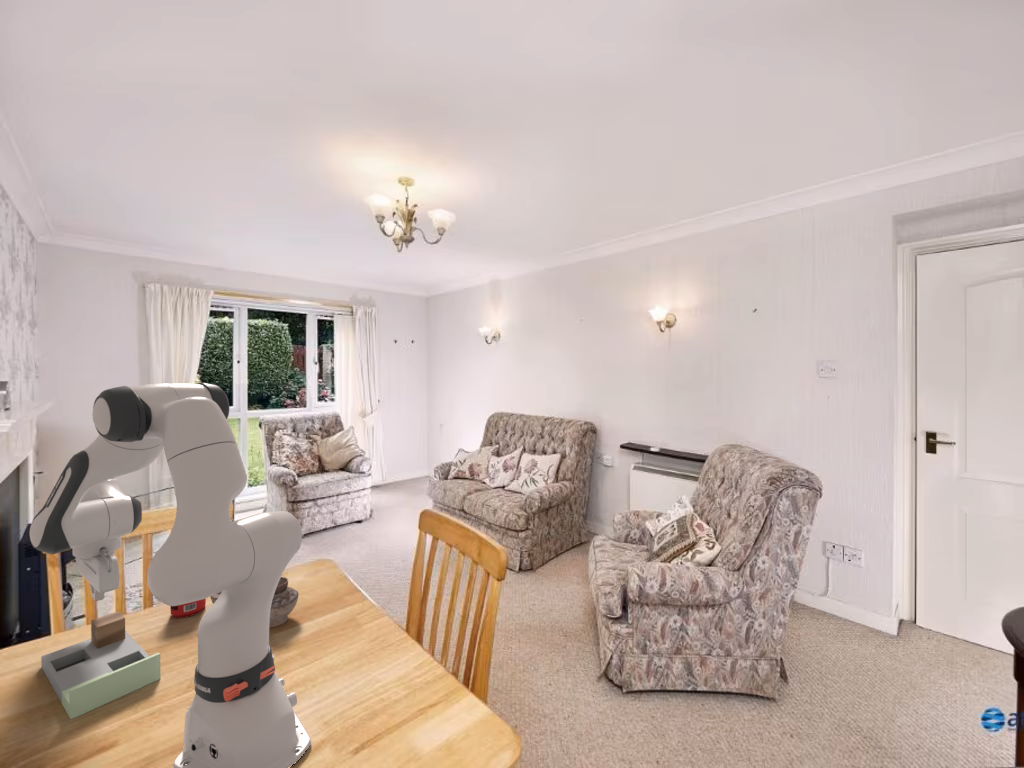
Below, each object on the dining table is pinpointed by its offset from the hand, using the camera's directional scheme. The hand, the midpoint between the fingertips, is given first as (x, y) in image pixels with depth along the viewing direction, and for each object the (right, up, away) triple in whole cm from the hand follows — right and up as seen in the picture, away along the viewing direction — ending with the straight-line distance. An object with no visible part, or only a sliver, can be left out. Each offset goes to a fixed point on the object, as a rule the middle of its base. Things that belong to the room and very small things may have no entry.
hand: (97, 598), depth 110 cm
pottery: (+33, -10, +10) cm, 36 cm away
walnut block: (+6, -8, -4) cm, 11 cm away
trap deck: (+12, -10, -12) cm, 20 cm away
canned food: (+13, -10, +13) cm, 21 cm away
